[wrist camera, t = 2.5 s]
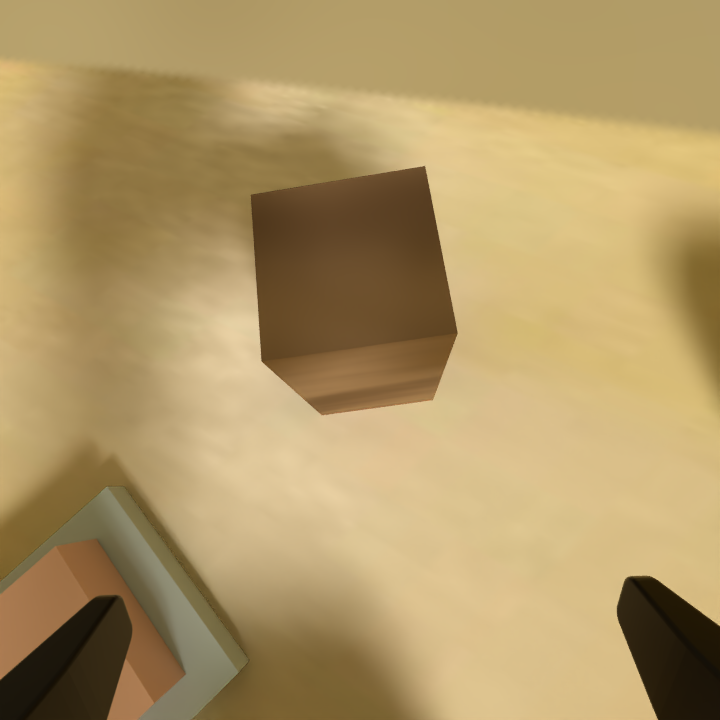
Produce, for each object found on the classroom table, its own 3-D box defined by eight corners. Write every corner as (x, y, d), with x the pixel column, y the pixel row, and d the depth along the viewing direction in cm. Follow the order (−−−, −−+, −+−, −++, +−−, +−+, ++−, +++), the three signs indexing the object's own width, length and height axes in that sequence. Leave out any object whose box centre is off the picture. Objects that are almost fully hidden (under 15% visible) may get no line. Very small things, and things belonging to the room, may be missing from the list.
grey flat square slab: (254, 654, 20) (238, 672, 18) (75, 833, 19) (39, 872, 17) (131, 486, 23) (107, 486, 21) (-33, 634, 22) (-75, 648, 20)
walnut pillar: (432, 399, 22) (457, 333, 12) (321, 415, 22) (261, 361, 13) (415, 296, 23) (425, 166, 14) (311, 312, 24) (250, 194, 14)
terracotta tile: (186, 674, 18) (154, 703, 16) (46, 807, 18) (-10, 859, 15) (96, 538, 20) (55, 546, 18) (-35, 654, 19) (-96, 678, 17)
